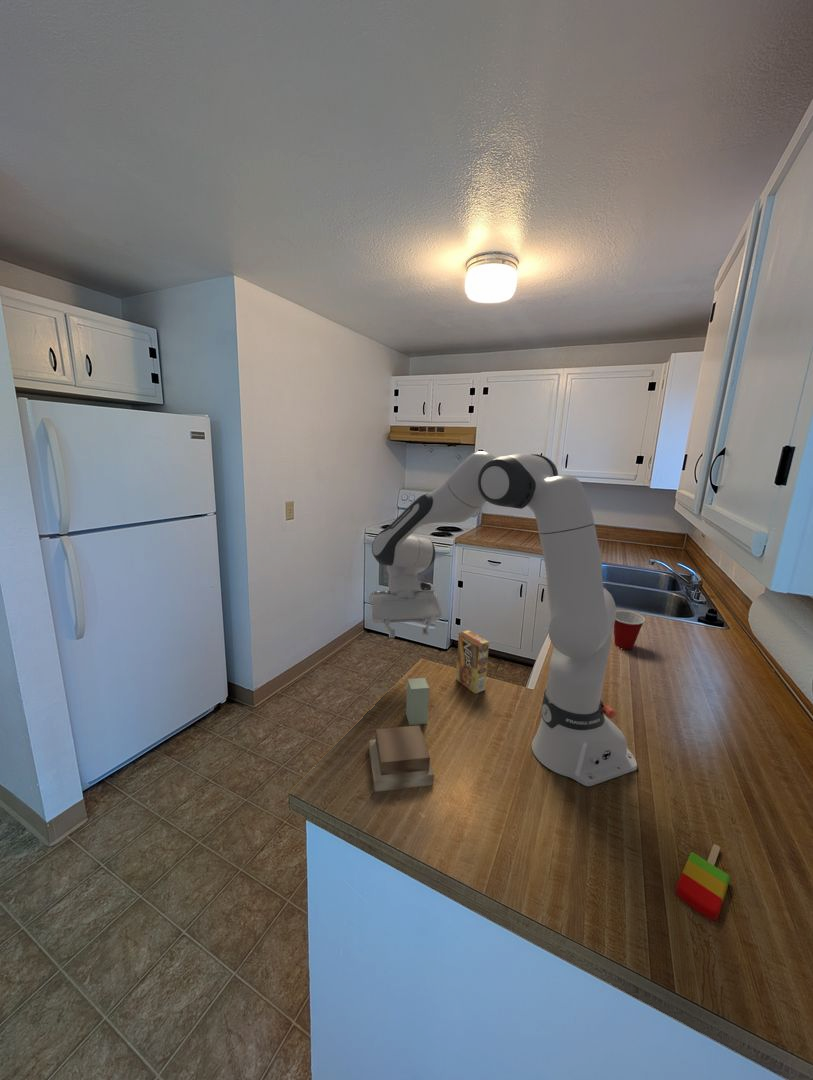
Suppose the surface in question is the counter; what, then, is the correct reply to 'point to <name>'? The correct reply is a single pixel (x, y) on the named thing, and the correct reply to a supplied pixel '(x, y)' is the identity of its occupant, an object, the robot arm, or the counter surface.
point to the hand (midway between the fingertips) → (409, 636)
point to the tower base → (396, 775)
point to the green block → (417, 701)
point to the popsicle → (703, 884)
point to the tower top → (401, 750)
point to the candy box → (472, 661)
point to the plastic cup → (627, 628)
